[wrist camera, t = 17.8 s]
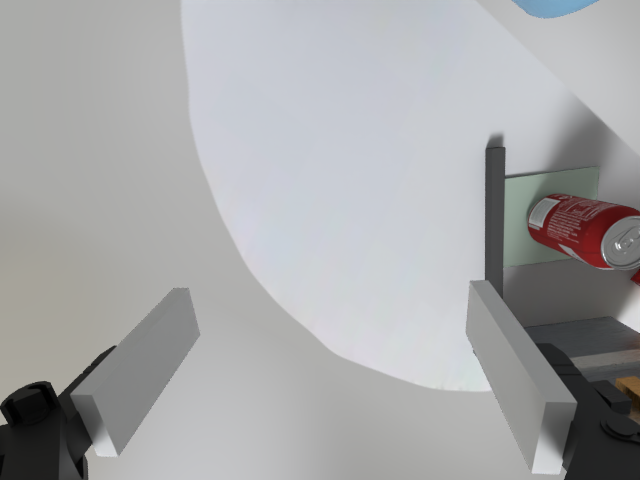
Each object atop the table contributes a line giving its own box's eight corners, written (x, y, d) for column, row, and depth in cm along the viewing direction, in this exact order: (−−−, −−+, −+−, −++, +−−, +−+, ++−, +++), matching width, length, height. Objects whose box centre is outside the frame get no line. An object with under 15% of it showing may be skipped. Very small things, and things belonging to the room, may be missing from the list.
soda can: (512, 221, 45) (582, 248, 34) (552, 181, 44) (639, 195, 32) (545, 253, 46) (623, 289, 35) (585, 215, 45) (679, 239, 34)
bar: (485, 148, 43) (492, 149, 41) (498, 147, 43) (505, 147, 41) (485, 295, 48) (490, 300, 47) (496, 293, 48) (502, 298, 47)
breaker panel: (473, 324, 50) (616, 483, 27) (611, 306, 50) (875, 449, 26) (473, 352, 51) (610, 527, 28) (608, 334, 51) (858, 495, 28)
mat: (503, 178, 44) (505, 179, 44) (597, 166, 44) (599, 166, 44) (501, 266, 47) (503, 267, 47) (588, 255, 47) (591, 256, 47)
